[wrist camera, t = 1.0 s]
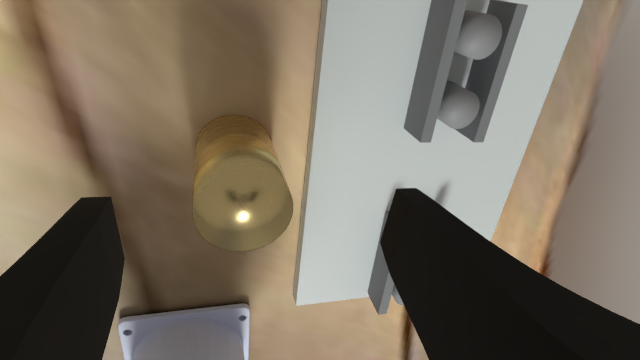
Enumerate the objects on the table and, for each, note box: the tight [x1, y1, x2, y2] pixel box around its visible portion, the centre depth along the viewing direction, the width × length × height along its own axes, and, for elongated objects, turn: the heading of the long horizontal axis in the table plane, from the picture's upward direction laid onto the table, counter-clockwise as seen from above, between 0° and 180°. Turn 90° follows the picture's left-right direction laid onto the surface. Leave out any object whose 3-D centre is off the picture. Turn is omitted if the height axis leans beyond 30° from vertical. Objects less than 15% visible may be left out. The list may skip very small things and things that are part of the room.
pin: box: [193, 115, 293, 252], centre depth 18 cm, size 4×4×6 cm
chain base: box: [293, 0, 583, 314], centre depth 23 cm, size 20×14×3 cm
